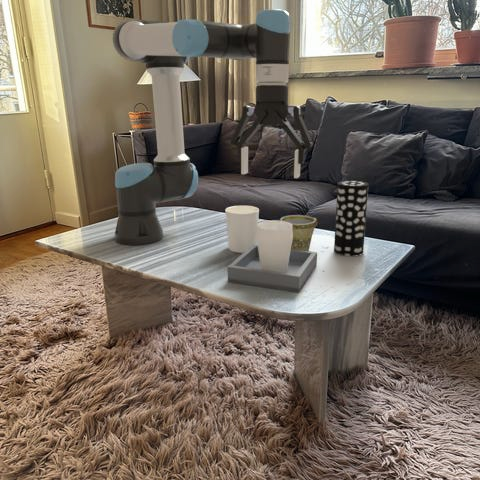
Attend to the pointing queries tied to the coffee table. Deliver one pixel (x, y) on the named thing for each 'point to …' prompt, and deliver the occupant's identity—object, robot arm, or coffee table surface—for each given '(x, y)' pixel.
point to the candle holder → (241, 227)
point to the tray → (292, 280)
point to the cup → (274, 244)
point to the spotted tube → (350, 217)
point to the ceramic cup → (301, 230)
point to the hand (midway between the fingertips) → (270, 175)
